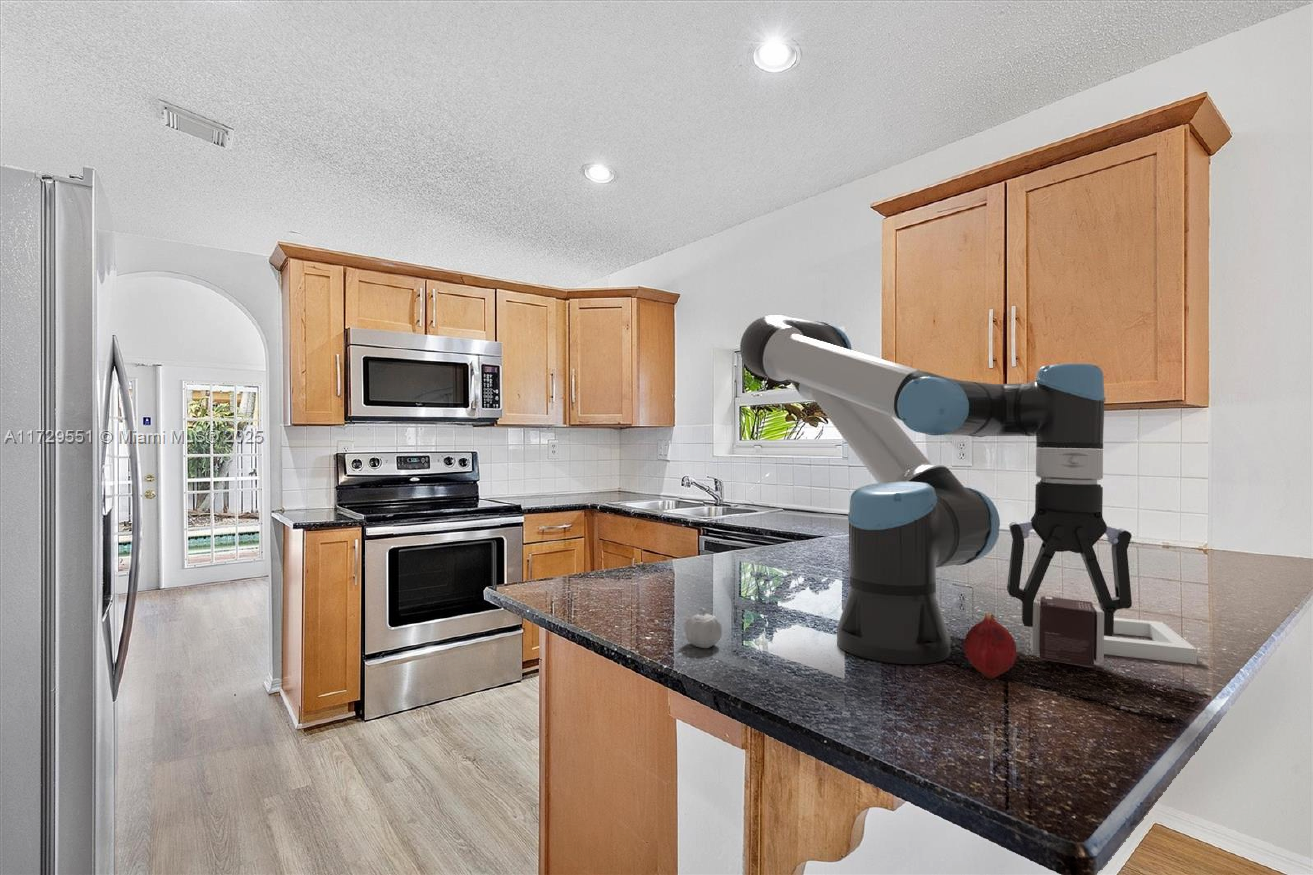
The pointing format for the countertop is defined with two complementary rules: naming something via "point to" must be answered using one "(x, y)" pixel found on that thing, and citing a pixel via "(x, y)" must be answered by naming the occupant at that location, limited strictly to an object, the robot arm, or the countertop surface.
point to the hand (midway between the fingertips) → (1065, 654)
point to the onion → (990, 647)
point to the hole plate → (1149, 642)
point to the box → (1067, 631)
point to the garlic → (703, 630)
